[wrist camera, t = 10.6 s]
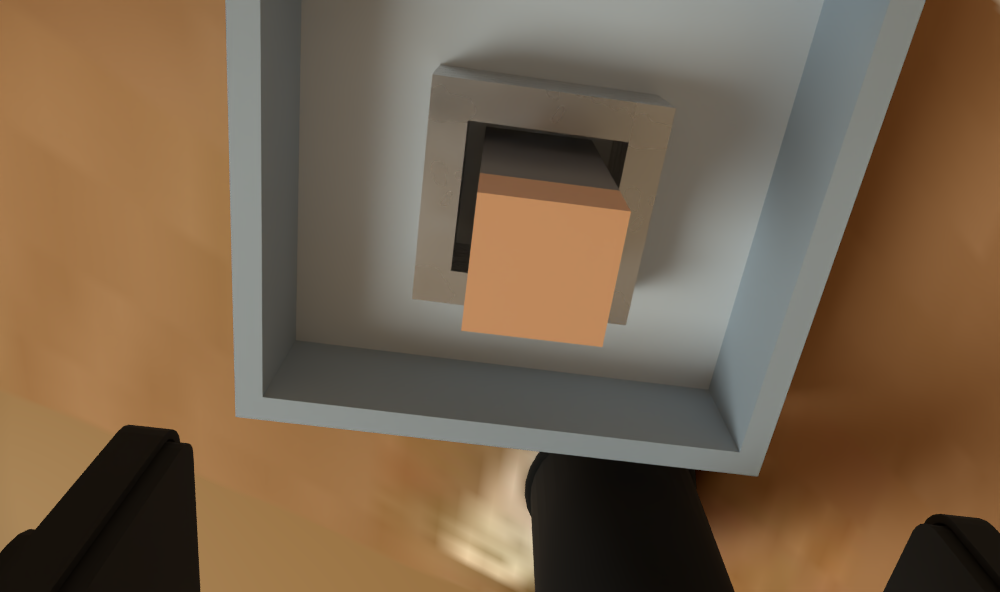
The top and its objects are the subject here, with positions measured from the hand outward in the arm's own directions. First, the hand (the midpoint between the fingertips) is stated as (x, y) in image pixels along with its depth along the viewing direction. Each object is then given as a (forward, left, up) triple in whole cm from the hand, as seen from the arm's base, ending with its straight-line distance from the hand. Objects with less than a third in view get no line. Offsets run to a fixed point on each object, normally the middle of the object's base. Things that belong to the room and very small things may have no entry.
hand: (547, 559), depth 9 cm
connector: (+1, 0, -20) cm, 20 cm away
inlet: (+1, 0, -20) cm, 20 cm away
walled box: (+1, 0, -20) cm, 20 cm away
